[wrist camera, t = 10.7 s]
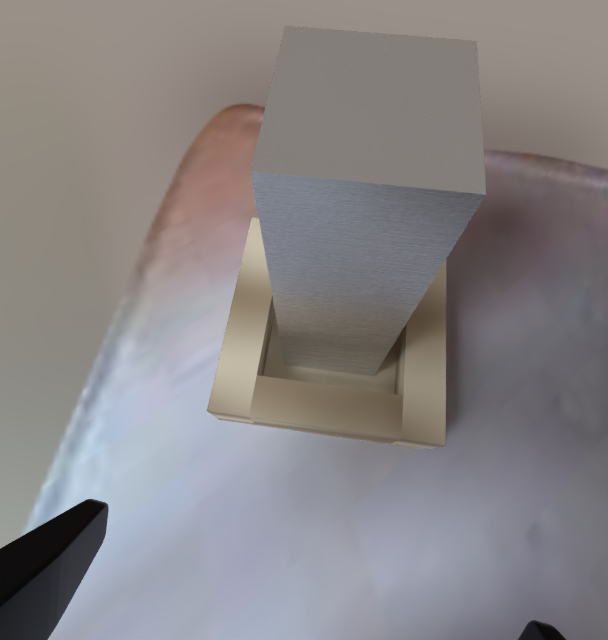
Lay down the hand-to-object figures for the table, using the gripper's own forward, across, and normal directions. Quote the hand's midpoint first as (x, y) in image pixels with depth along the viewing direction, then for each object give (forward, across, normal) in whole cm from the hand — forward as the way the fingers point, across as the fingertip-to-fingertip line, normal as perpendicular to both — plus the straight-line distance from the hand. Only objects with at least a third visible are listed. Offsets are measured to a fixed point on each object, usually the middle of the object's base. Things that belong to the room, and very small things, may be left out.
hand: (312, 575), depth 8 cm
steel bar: (+13, 0, -1) cm, 13 cm away
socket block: (+14, 0, 0) cm, 14 cm away
